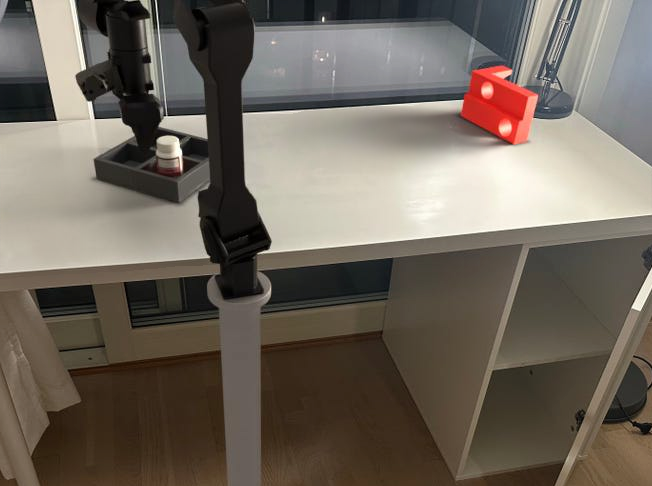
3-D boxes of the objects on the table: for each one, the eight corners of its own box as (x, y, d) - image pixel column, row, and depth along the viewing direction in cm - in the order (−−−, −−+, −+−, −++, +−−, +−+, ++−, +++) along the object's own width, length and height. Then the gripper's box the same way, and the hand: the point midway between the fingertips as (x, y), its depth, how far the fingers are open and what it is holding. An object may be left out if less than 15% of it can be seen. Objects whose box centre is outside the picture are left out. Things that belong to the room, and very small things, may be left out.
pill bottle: (166, 175, 136) (162, 132, 130) (188, 179, 135) (185, 137, 129) (154, 185, 132) (149, 142, 127) (177, 190, 131) (173, 147, 126)
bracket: (469, 71, 160) (502, 65, 164) (460, 115, 167) (492, 109, 171) (525, 97, 149) (559, 90, 153) (513, 144, 155) (546, 136, 159)
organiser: (232, 164, 142) (232, 145, 140) (179, 203, 129) (177, 182, 127) (155, 144, 148) (153, 125, 146) (96, 179, 135) (93, 158, 133)
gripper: (69, 30, 112) (85, 126, 122) (79, 69, 98) (96, 173, 109) (139, 27, 115) (149, 121, 125) (159, 64, 101) (168, 165, 112)
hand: (140, 143), depth 117 cm, fingers open, 9 cm apart
